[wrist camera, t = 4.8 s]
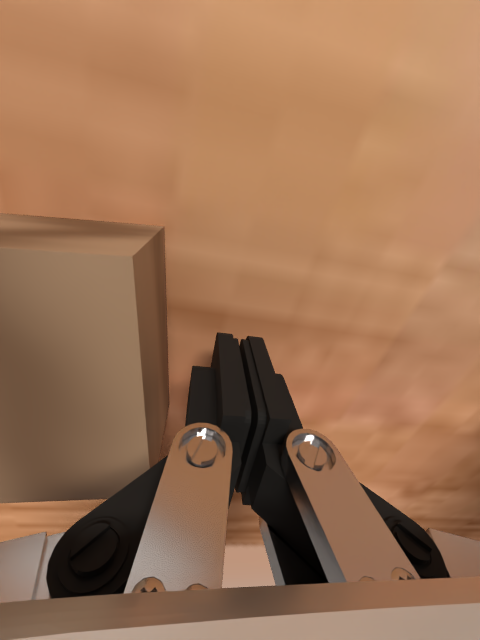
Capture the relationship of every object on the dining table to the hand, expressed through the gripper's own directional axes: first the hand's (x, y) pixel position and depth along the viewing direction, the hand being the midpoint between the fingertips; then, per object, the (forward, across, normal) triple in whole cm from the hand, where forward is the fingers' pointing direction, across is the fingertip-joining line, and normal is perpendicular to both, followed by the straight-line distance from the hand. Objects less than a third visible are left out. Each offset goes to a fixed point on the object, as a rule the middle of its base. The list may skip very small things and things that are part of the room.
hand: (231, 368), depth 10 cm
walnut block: (+2, +6, 0) cm, 6 cm away
